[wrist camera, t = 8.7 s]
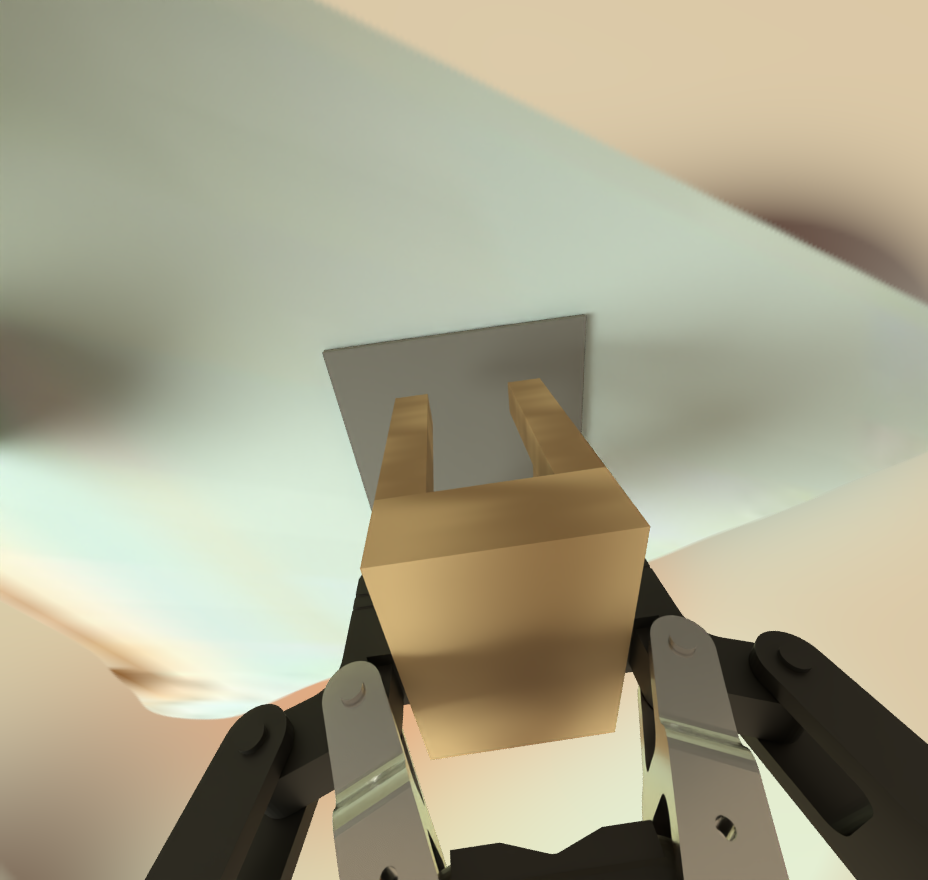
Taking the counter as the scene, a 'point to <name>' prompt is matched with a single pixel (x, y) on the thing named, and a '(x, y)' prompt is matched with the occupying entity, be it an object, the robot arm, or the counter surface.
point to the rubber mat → (458, 395)
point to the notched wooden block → (505, 584)
